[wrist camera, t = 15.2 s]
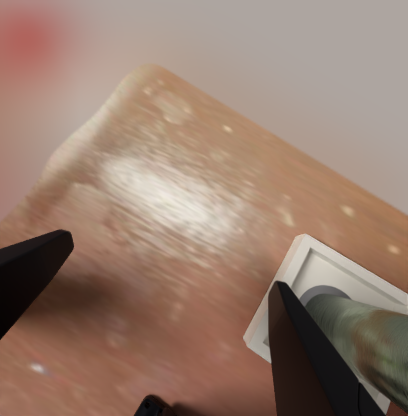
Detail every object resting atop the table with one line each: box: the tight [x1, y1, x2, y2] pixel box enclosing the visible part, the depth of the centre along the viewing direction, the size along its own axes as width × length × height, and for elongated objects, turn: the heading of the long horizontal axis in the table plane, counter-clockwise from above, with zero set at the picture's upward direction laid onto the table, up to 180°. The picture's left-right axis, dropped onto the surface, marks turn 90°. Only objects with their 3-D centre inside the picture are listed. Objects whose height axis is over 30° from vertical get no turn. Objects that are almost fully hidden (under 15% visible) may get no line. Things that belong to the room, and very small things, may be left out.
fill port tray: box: [243, 234, 408, 415], centre depth 19 cm, size 12×12×2 cm
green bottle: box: [305, 293, 408, 414], centre depth 12 cm, size 5×5×15 cm
